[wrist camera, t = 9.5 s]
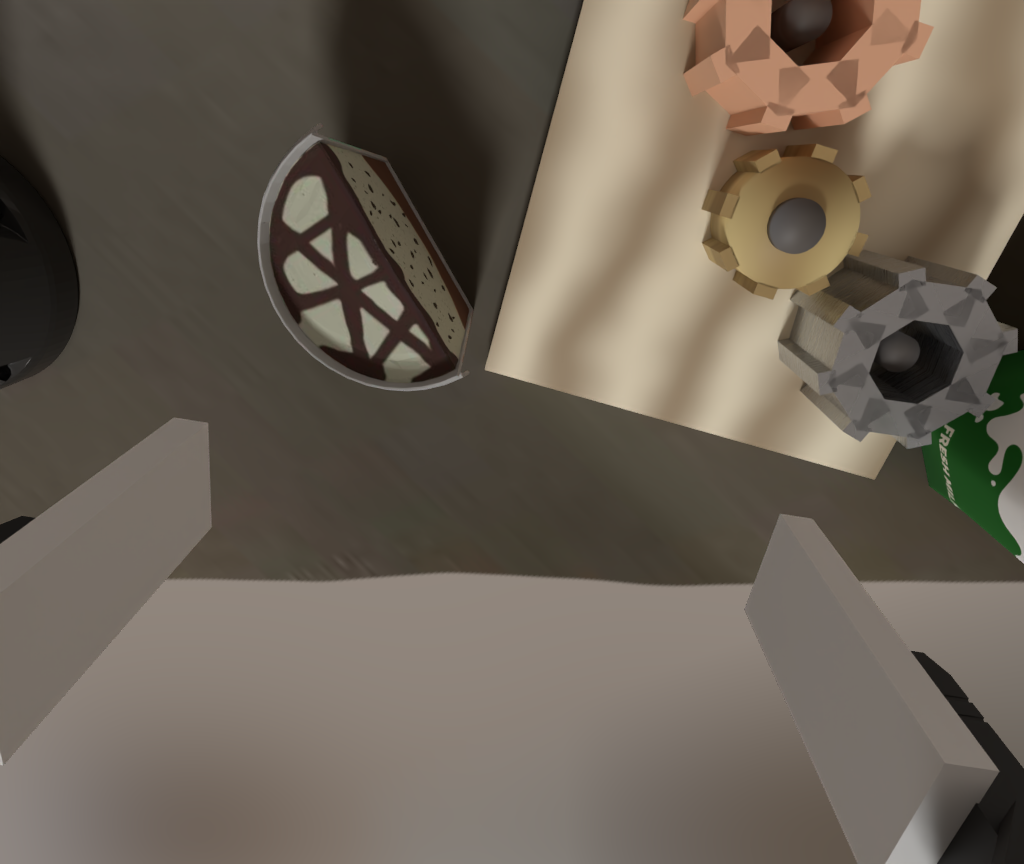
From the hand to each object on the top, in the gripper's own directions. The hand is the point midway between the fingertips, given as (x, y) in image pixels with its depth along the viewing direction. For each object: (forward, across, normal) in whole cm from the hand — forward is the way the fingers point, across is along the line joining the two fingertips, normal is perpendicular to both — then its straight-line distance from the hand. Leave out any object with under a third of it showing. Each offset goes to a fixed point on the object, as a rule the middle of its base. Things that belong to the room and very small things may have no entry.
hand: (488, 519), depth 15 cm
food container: (+25, +8, -1) cm, 26 cm away
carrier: (+24, -12, -7) cm, 28 cm away
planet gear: (+23, -10, -14) cm, 29 cm away
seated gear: (+22, -18, -2) cm, 29 cm away
